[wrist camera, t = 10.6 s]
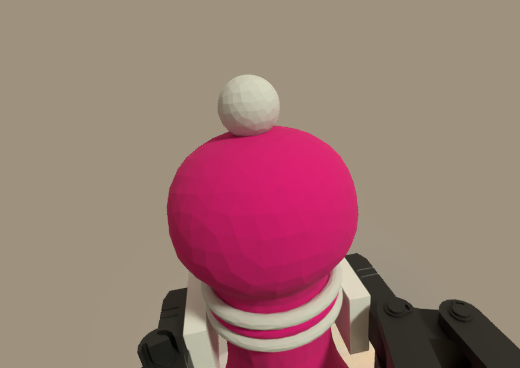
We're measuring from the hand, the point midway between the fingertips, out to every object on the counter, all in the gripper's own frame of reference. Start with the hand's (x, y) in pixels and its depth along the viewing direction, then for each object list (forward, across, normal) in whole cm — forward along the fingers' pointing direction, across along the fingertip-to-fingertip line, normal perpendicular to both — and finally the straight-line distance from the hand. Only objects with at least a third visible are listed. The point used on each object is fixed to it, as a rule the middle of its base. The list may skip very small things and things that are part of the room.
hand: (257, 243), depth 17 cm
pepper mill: (-5, 0, -11) cm, 12 cm away
